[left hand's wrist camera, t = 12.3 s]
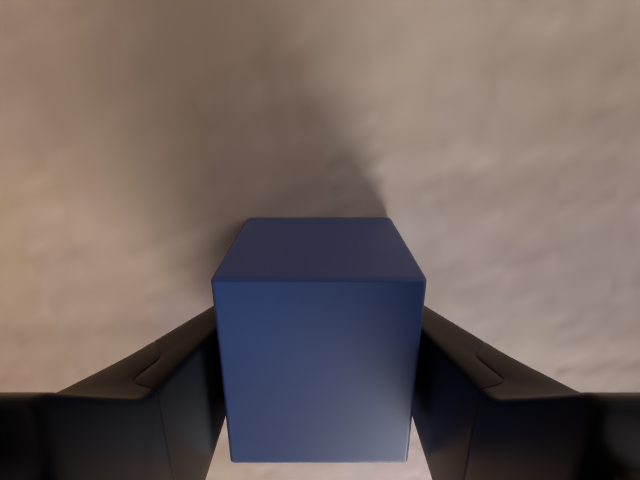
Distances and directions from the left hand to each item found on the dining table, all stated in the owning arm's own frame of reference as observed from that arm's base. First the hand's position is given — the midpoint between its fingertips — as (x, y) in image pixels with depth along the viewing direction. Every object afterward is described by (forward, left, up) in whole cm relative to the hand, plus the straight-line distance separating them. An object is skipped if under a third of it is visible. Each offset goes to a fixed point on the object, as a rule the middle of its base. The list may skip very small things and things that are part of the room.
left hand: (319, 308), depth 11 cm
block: (0, 0, -1) cm, 1 cm away
